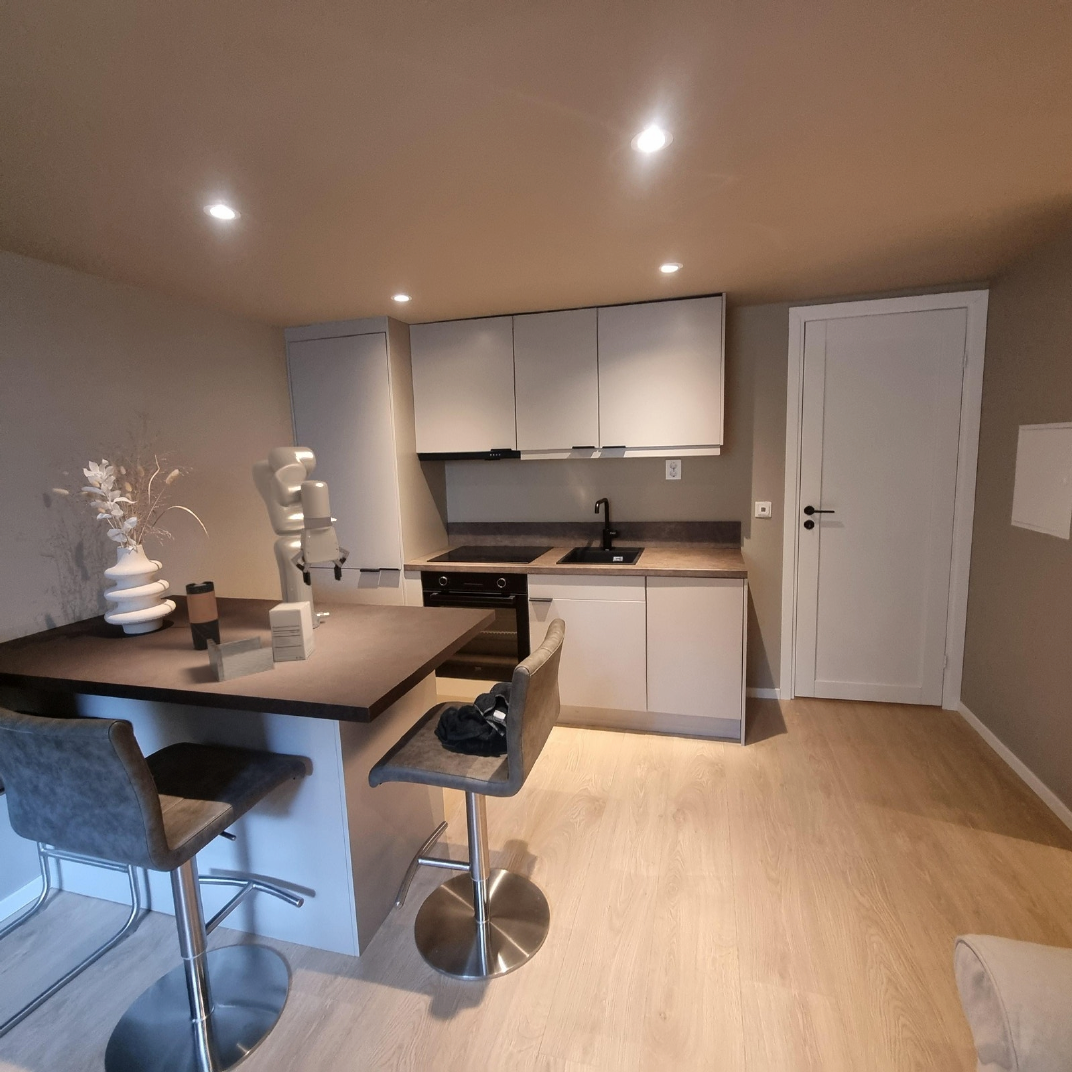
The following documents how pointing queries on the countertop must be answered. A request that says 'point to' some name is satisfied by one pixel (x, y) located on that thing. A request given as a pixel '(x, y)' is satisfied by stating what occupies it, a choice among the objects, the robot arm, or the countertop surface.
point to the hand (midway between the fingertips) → (323, 582)
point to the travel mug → (203, 614)
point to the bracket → (239, 658)
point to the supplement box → (292, 631)
